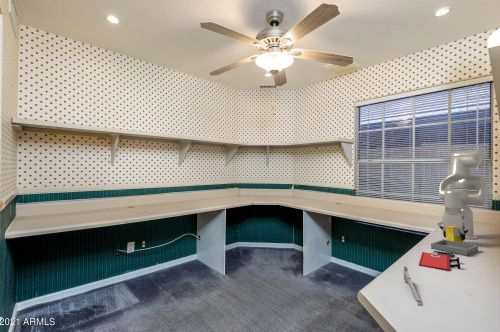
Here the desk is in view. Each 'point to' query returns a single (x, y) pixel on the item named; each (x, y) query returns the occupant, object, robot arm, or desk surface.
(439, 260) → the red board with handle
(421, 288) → the desk surface
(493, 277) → the desk surface
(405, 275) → the caliper
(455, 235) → the supplement box
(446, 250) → the tray
